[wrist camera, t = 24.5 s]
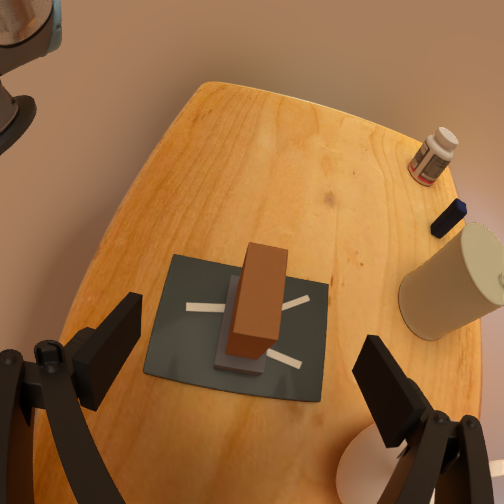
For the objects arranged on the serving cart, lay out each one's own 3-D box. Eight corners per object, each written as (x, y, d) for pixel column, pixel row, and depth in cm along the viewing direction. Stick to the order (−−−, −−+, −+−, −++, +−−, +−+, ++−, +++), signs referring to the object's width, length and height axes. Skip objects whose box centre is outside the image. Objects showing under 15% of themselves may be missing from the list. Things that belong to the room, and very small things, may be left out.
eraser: (440, 229, 38) (466, 203, 32) (440, 240, 37) (468, 214, 31) (430, 223, 38) (456, 195, 33) (430, 234, 37) (457, 206, 31)
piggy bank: (311, 526, 18) (394, 592, 5) (315, 421, 24) (418, 425, 11) (415, 498, 19) (518, 514, 7) (418, 406, 25) (529, 382, 12)
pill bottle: (436, 181, 44) (465, 143, 36) (425, 191, 42) (456, 150, 33) (415, 160, 46) (441, 121, 37) (402, 167, 44) (430, 125, 35)
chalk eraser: (213, 368, 24) (217, 347, 16) (229, 285, 28) (240, 226, 20) (258, 375, 24) (288, 359, 16) (270, 293, 28) (299, 238, 20)
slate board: (144, 373, 24) (142, 372, 23) (174, 258, 30) (173, 253, 29) (316, 402, 25) (320, 402, 24) (325, 287, 31) (329, 283, 30)
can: (428, 356, 28) (505, 323, 18) (384, 296, 31) (451, 243, 21) (460, 311, 32) (524, 271, 21) (422, 259, 35) (479, 206, 24)
